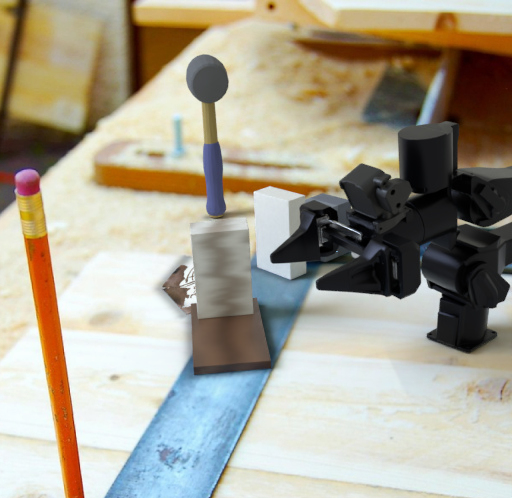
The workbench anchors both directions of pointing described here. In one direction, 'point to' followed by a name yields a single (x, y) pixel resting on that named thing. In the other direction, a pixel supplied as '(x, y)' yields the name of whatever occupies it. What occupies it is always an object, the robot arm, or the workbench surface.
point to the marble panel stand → (225, 300)
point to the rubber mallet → (210, 124)
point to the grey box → (341, 208)
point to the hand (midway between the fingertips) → (292, 271)
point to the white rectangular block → (276, 228)
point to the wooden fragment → (179, 287)
